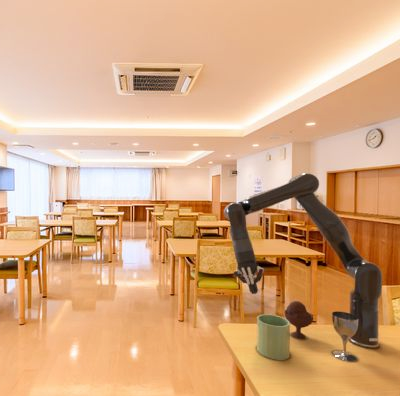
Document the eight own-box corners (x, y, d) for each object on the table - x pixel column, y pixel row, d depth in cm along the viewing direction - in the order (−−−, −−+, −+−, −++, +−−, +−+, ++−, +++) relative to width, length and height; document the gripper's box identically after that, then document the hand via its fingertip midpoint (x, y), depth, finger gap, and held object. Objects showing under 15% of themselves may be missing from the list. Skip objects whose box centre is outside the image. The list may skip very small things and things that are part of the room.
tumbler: (260, 341, 118) (261, 312, 118) (291, 350, 111) (292, 319, 111) (253, 353, 109) (253, 321, 108) (286, 363, 102) (286, 329, 102)
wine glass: (335, 359, 105) (335, 318, 105) (329, 348, 112) (329, 310, 112) (361, 363, 102) (362, 321, 102) (353, 352, 109) (353, 313, 109)
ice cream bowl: (318, 343, 116) (318, 306, 116) (288, 340, 118) (288, 304, 118) (308, 331, 126) (308, 297, 126) (280, 329, 128) (280, 295, 128)
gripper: (262, 246, 117) (274, 290, 114) (233, 251, 126) (243, 292, 123) (254, 249, 112) (266, 294, 108) (224, 253, 121) (235, 296, 118)
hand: (254, 293), depth 116 cm, fingers closed
